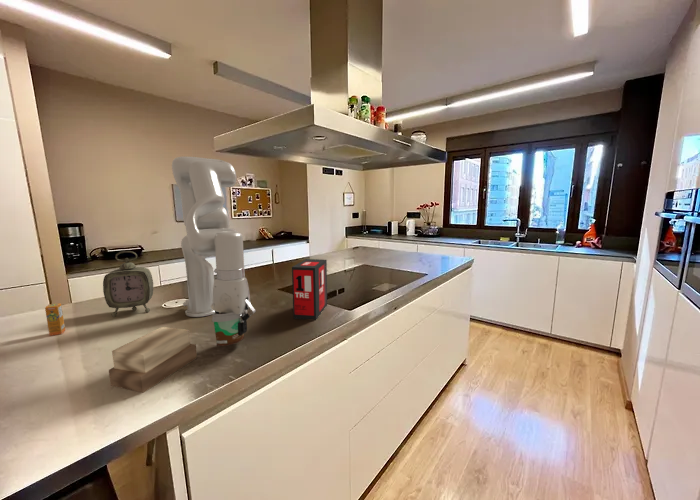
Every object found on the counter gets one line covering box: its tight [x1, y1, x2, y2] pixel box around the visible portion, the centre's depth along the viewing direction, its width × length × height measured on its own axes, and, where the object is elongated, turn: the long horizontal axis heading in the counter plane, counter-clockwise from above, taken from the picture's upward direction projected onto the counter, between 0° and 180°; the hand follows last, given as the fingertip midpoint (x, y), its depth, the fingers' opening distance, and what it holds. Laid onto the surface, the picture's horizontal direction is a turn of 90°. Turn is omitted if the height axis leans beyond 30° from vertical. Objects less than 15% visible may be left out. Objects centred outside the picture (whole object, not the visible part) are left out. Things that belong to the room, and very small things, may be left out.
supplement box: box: [44, 302, 66, 337], centre depth 96 cm, size 3×3×10 cm
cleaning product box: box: [291, 258, 328, 321], centre depth 116 cm, size 16×9×20 cm, turn 170°
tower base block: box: [108, 343, 198, 394], centre depth 75 cm, size 10×16×4 cm, turn 164°
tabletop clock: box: [102, 250, 154, 317], centre depth 115 cm, size 14×9×25 cm, turn 114°
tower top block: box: [111, 326, 191, 373], centre depth 74 cm, size 9×14×4 cm, turn 168°
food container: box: [211, 310, 248, 347], centre depth 87 cm, size 12×6×10 cm, turn 168°
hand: (234, 331), depth 87 cm, fingers closed on food container, 5 cm apart
